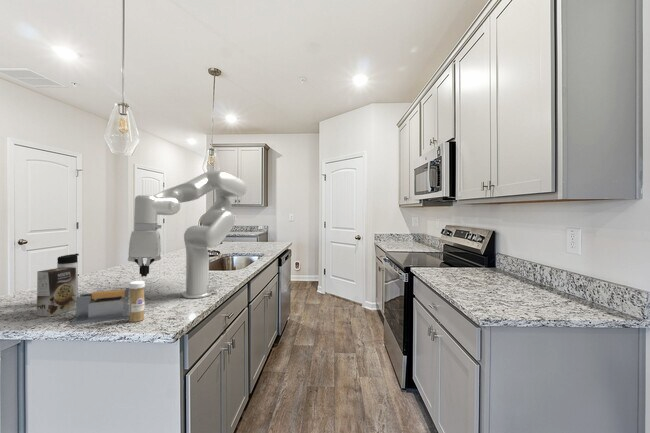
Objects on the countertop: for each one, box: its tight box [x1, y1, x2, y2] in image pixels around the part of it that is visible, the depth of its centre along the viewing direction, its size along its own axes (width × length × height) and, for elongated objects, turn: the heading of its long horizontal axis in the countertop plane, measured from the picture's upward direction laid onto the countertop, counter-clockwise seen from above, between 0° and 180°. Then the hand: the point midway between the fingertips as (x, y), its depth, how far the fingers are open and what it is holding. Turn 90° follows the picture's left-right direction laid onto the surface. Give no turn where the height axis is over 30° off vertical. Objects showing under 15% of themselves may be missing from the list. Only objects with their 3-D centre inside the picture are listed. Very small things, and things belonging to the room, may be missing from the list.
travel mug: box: [56, 253, 80, 298], centre depth 118 cm, size 6×7×20 cm
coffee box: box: [36, 267, 76, 318], centre depth 108 cm, size 9×6×16 cm
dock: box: [70, 292, 130, 326], centre depth 107 cm, size 18×14×8 cm
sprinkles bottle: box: [128, 280, 146, 323], centre depth 102 cm, size 5×5×14 cm
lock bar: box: [91, 287, 130, 299], centre depth 107 cm, size 11×3×3 cm, turn 115°
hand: (144, 275), depth 111 cm, fingers closed
